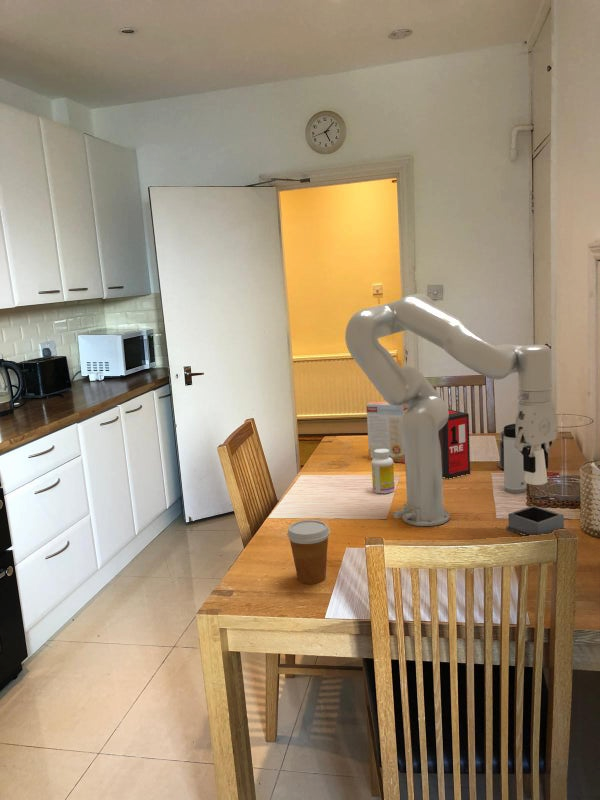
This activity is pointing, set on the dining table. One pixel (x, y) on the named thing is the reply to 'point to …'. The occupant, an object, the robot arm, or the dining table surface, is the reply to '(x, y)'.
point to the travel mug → (513, 463)
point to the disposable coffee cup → (309, 549)
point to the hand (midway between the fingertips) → (535, 468)
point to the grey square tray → (535, 521)
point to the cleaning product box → (455, 445)
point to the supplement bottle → (382, 472)
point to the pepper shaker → (537, 468)
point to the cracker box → (385, 429)
